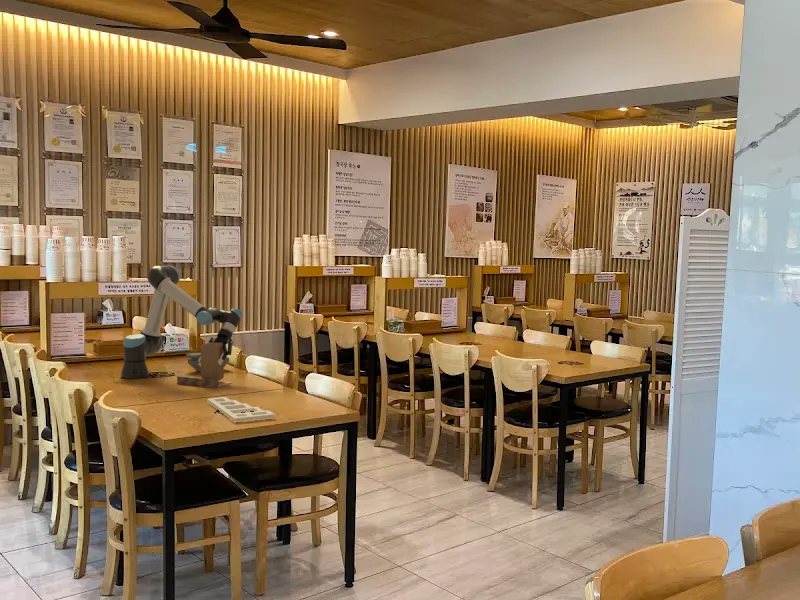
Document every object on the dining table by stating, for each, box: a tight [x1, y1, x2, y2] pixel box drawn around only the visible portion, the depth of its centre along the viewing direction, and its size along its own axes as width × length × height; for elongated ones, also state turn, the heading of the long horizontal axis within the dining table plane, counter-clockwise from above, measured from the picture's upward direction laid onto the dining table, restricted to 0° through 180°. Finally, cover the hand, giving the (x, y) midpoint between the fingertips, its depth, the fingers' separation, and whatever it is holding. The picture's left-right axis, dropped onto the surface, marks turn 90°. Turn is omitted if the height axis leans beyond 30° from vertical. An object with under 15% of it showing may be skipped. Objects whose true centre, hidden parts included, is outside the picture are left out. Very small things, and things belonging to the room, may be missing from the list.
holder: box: [206, 396, 276, 421], centre depth 337 cm, size 45×18×3 cm, turn 29°
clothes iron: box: [185, 352, 230, 373], centre depth 440 cm, size 25×8×11 cm, turn 128°
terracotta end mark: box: [219, 380, 234, 387], centre depth 401 cm, size 13×12×1 cm
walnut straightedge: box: [176, 375, 220, 388], centre depth 396 cm, size 25×3×4 cm, turn 67°
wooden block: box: [200, 341, 225, 381], centre depth 401 cm, size 10×10×20 cm
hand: (209, 363), depth 399 cm, fingers closed on wooden block, 12 cm apart
